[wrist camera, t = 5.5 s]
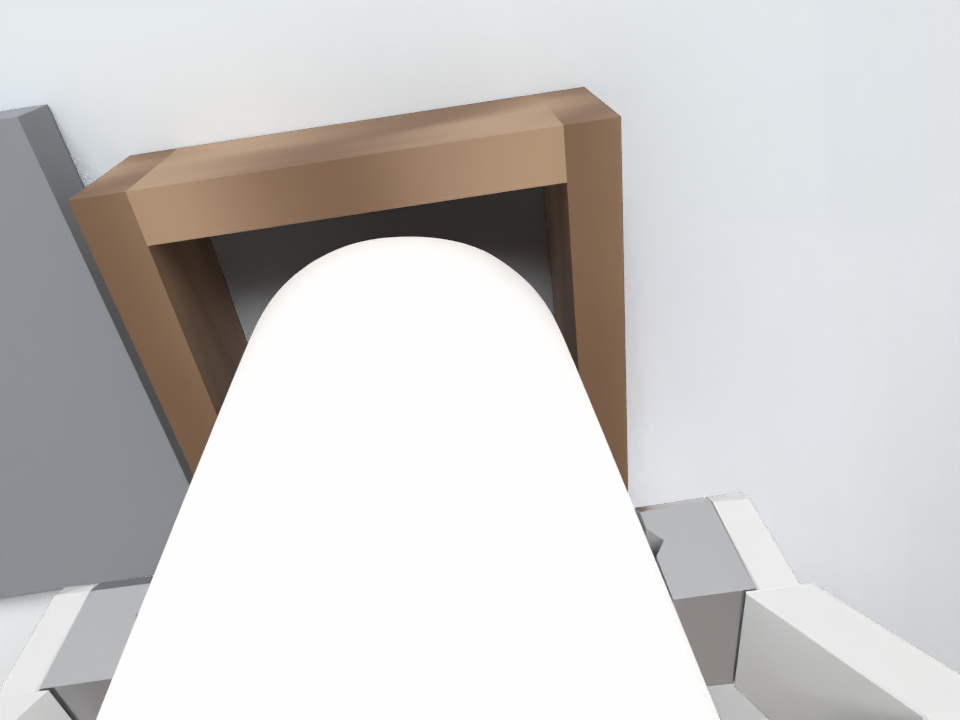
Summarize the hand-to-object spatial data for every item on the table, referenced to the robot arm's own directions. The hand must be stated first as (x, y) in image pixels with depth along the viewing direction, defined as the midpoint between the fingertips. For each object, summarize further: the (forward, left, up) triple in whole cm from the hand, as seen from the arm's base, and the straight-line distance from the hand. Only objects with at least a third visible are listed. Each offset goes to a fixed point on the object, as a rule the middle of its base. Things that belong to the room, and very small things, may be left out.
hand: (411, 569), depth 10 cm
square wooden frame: (0, 0, -8) cm, 8 cm away
